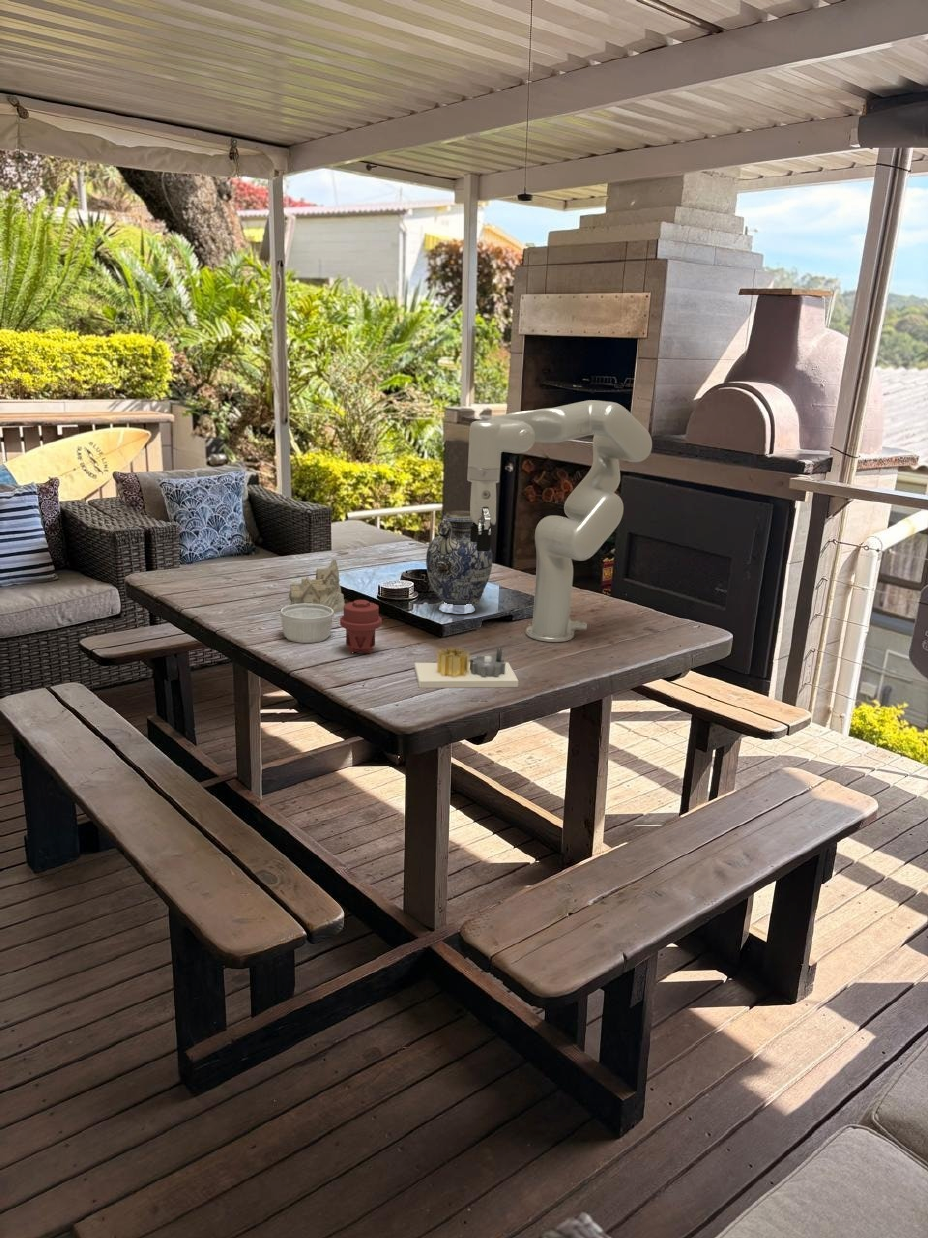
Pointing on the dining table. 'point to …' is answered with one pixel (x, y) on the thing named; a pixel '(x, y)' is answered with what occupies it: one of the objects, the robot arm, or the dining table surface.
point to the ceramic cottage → (320, 589)
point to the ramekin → (307, 622)
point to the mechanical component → (360, 625)
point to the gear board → (470, 674)
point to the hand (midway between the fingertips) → (479, 546)
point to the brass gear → (452, 662)
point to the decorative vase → (457, 561)
